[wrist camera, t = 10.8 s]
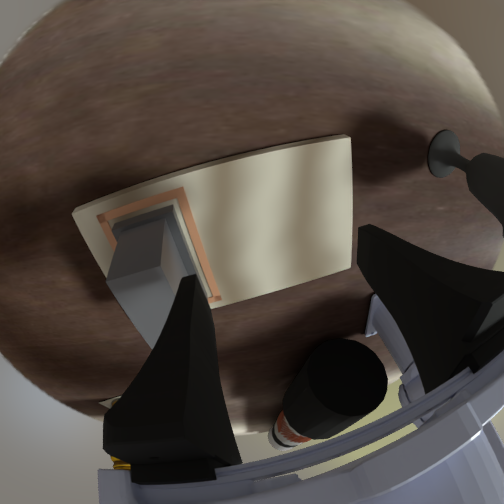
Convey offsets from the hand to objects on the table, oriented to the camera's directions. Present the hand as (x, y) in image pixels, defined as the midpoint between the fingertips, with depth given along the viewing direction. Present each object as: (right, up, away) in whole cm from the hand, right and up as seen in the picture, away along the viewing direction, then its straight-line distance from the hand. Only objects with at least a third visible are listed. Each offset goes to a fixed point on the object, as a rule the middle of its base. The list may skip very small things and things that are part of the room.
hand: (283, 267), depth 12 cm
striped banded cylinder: (+6, -23, +30) cm, 38 cm away
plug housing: (-8, -1, +8) cm, 11 cm away
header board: (-3, +2, +10) cm, 10 cm away
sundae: (+17, +10, +9) cm, 22 cm away
